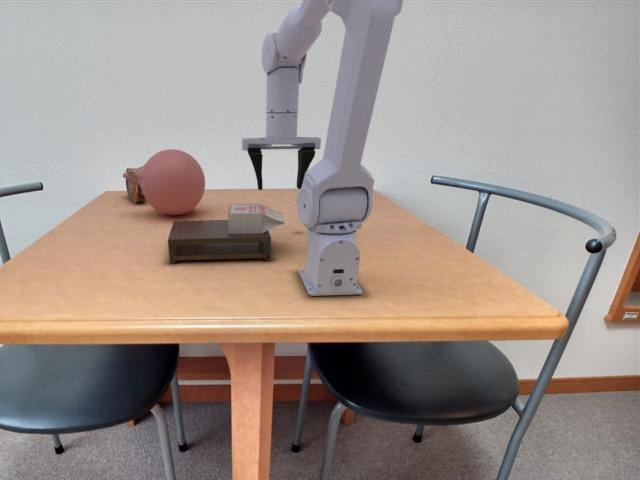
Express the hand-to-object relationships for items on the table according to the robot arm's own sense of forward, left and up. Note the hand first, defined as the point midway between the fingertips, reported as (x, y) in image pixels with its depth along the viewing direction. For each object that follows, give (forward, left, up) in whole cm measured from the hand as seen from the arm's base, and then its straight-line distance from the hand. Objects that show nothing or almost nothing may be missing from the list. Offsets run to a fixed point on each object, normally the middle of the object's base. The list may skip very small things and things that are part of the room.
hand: (279, 188), depth 84 cm
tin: (+40, +35, -11) cm, 54 cm away
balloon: (+23, +25, -11) cm, 36 cm away
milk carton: (-6, +10, -4) cm, 13 cm away
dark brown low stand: (-6, +12, -10) cm, 17 cm away
